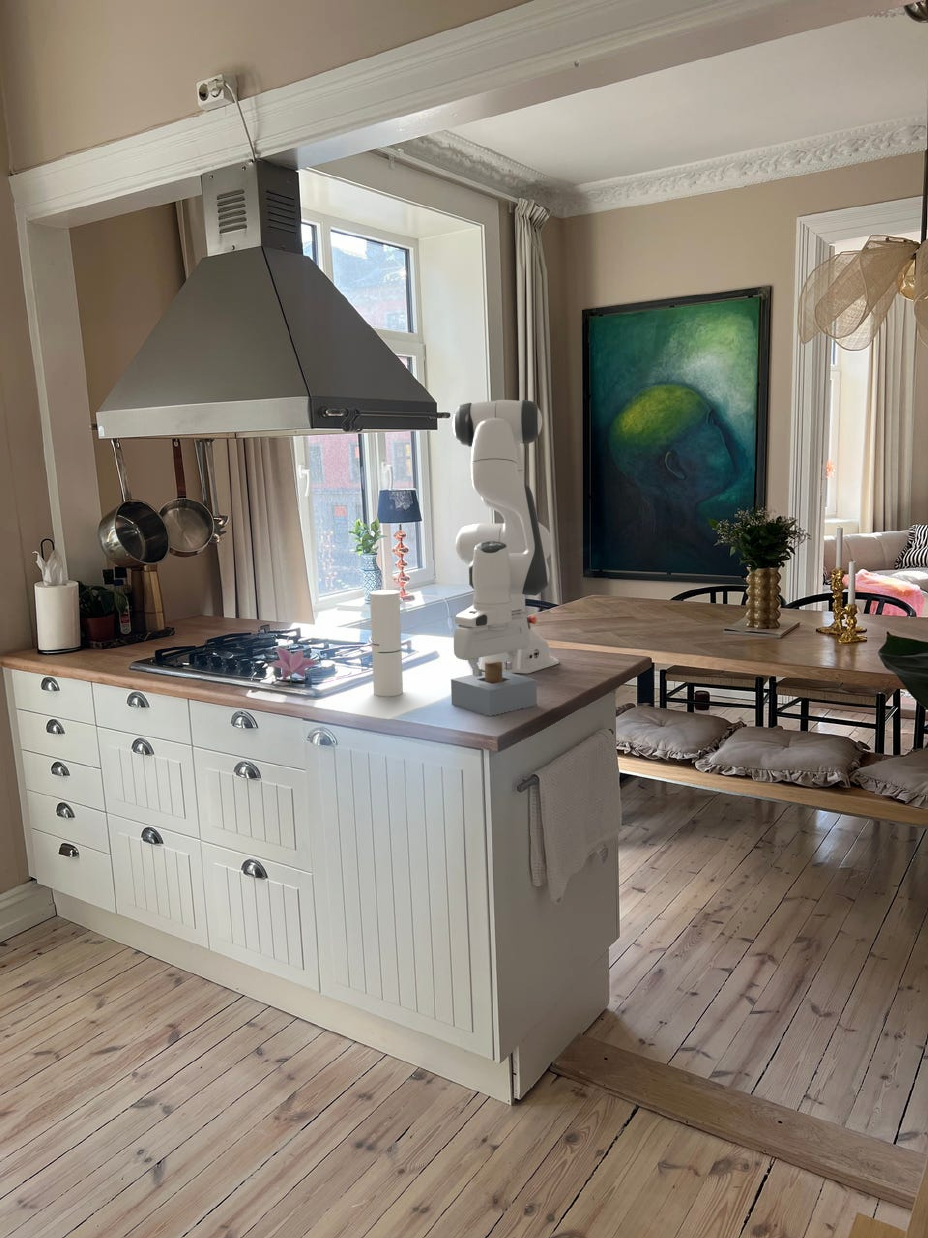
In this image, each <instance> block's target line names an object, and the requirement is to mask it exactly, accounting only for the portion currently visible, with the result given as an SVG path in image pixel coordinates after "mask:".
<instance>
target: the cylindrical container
mask: <svg viewBox="0 0 928 1238" xmlns="http://www.w3.org/2000/svg"><path fill="white" fill-rule="evenodd" d="M400 595H401V594H400V590H397V589H380V590H378V589H377V590H372V591H370V592H369V601H370V602H369V603H370V604H369V605H370V607H369V608H370V626H371V627H370V628H371V629H370V631H371V632H370V633H371V634H370V635H371V652H372V654H371V655H372V676H373V679H372V682H373V694H374V695H375V696H378V697H394V696H395V697H396V696H399V695H402V694H403V693H404V684H403V680H404V679H403V659H402V658H403V657H402V656H403V655H402V654H403V653H402V650H403V649H402V630H401V629H402V628H401V627H402V623H401V599H400V598H401V597H400Z"/></svg>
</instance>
